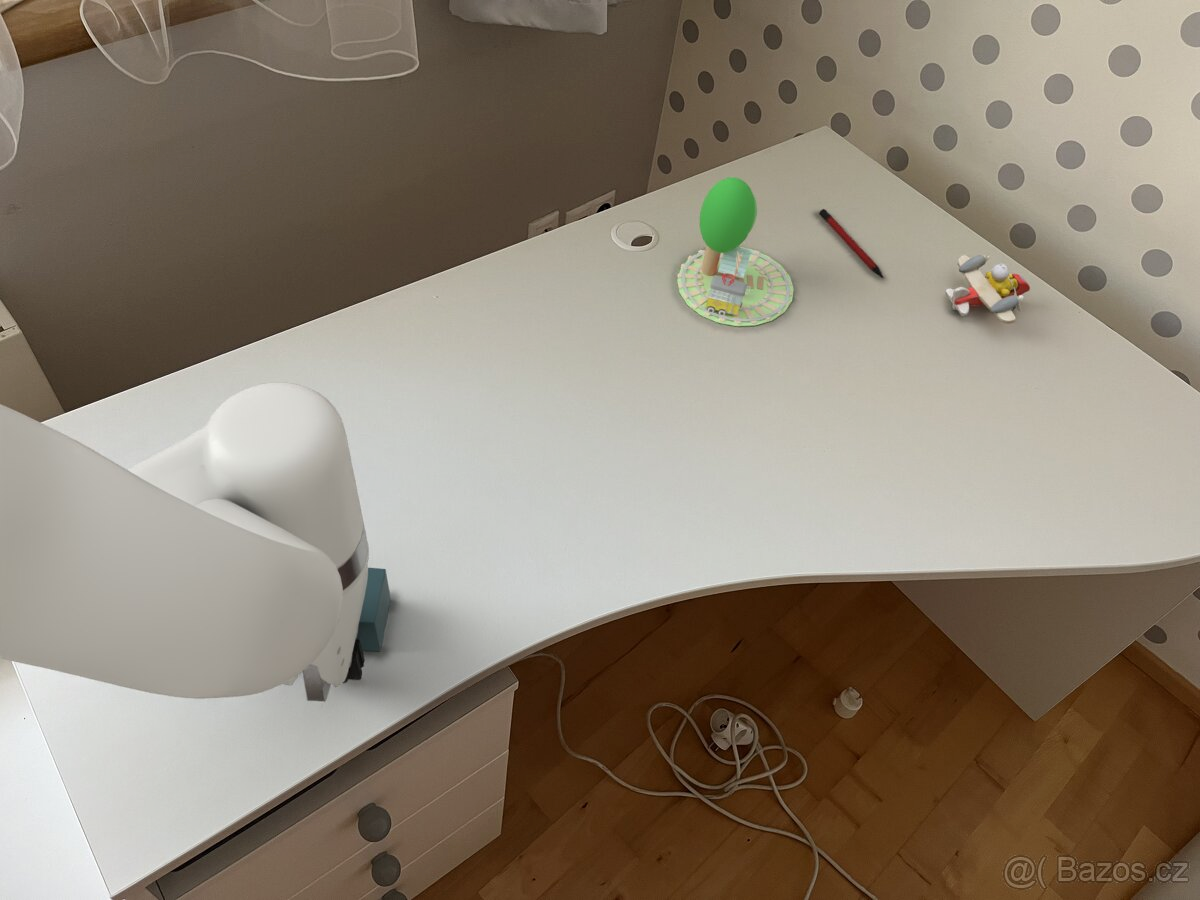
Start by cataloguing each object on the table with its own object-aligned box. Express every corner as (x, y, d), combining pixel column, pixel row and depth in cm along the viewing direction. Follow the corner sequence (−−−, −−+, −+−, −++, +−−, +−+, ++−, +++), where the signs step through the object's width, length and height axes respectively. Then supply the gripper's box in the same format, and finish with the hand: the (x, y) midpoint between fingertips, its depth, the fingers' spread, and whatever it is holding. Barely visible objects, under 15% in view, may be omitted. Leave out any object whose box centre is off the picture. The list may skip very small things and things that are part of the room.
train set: (780, 250, 91) (669, 190, 96) (750, 345, 101) (652, 287, 106) (849, 188, 99) (744, 136, 104) (815, 282, 110) (721, 231, 114)
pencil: (879, 281, 112) (882, 275, 111) (818, 215, 119) (820, 209, 118) (884, 280, 112) (887, 274, 111) (823, 214, 119) (826, 208, 119)
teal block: (380, 651, 74) (374, 623, 70) (319, 648, 74) (310, 618, 70) (391, 598, 77) (385, 568, 73) (332, 594, 77) (324, 564, 73)
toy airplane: (1021, 302, 111) (1046, 261, 106) (1002, 343, 106) (1027, 302, 101) (951, 272, 114) (973, 231, 109) (929, 311, 108) (950, 269, 103)
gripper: (276, 450, 62) (316, 585, 76) (211, 649, 52) (271, 760, 66) (386, 458, 62) (405, 591, 76) (341, 657, 53) (373, 766, 67)
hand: (343, 669), depth 71 cm, fingers closed
